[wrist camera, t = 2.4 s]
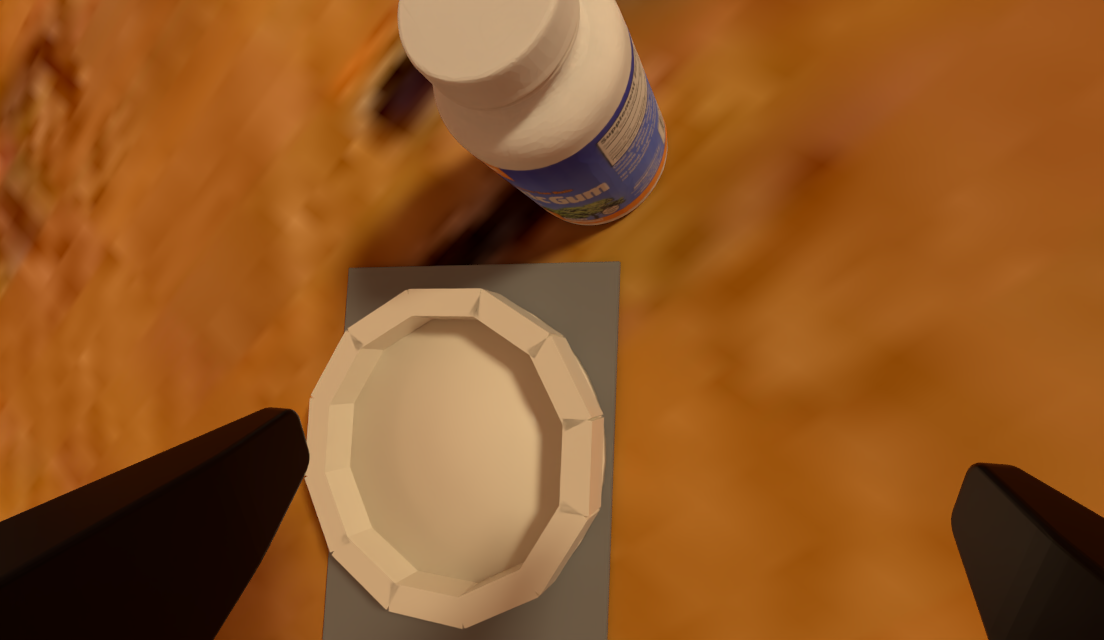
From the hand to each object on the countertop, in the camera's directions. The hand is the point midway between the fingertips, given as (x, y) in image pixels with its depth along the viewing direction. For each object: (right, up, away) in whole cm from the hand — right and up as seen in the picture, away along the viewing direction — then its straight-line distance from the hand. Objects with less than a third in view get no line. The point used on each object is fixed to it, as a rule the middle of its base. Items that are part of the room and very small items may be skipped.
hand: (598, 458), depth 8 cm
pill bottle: (+1, +8, +14) cm, 16 cm away
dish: (-4, -3, +14) cm, 15 cm away
